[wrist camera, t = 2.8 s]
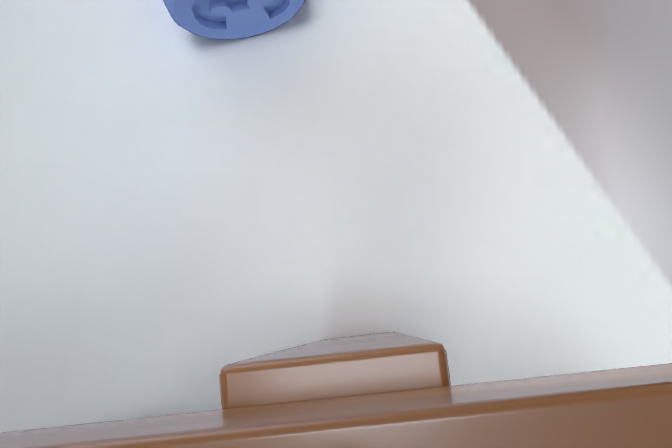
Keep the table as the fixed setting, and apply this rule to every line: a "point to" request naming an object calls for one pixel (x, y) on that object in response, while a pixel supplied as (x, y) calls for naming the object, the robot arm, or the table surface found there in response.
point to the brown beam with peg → (393, 406)
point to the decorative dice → (231, 16)
